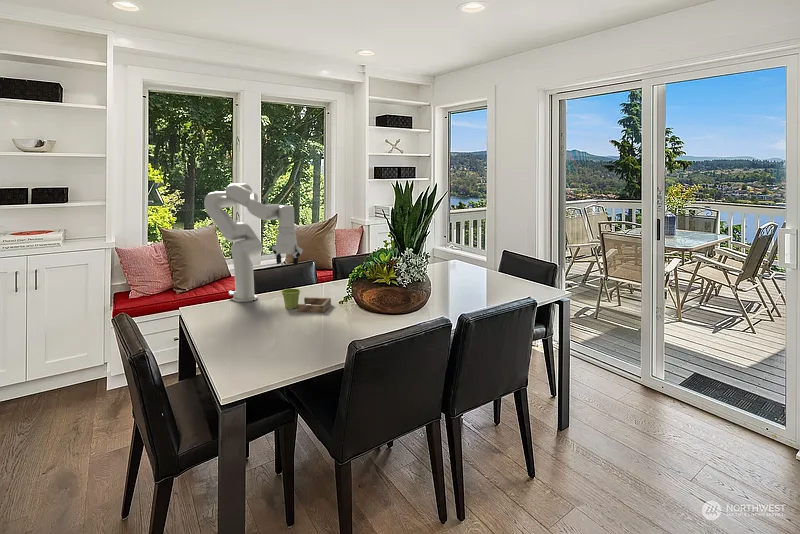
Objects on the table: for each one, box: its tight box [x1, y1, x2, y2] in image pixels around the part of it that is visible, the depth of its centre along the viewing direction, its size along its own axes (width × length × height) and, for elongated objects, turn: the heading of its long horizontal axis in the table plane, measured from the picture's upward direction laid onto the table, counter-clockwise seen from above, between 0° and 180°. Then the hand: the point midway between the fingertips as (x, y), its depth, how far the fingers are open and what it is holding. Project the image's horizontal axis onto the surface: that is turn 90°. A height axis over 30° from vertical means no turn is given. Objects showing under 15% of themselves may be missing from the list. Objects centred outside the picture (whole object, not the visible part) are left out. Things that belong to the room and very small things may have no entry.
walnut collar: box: [296, 296, 332, 314], centre depth 242 cm, size 14×15×4 cm
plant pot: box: [281, 288, 301, 310], centre depth 243 cm, size 9×9×9 cm
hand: (287, 264), depth 243 cm, fingers open, 9 cm apart
